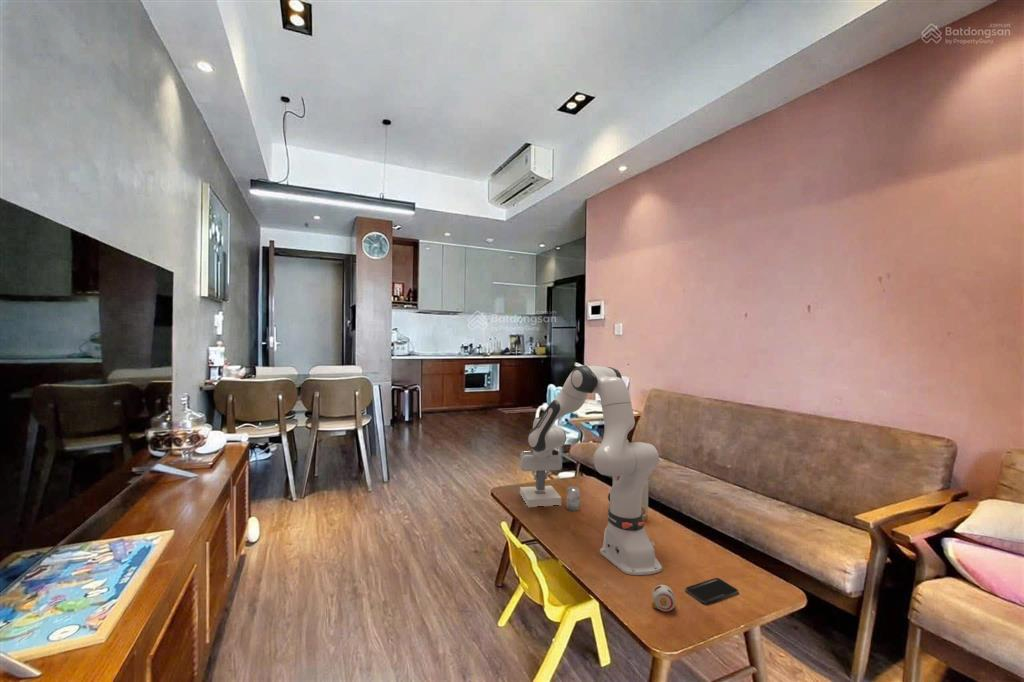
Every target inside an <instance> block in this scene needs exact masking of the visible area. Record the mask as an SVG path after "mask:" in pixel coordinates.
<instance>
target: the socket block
mask: <svg viewBox="0 0 1024 682" xmlns="http://www.w3.org/2000/svg"><path fill="white" fill-rule="evenodd" d="M520 494H521V495H520ZM519 495H520V497H521V496H522V497H521V498H523V499H522V500H523V502H524V501H525V502H524V503H526V504H525V506H526V507H527V506H528V507H527V508H538V507H537V506H544V507H554V506H553V505H559V506H562V502H563V501H562V499H563V497H562V496H561V495H560V494H559V493H558V491H556V489H555V488H554V487H553V486H552V485H545V490H537V489H536V485H535V486H519Z"/></svg>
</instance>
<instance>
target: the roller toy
mask: <svg viewBox="0 0 1024 682" xmlns="http://www.w3.org/2000/svg"><path fill="white" fill-rule="evenodd" d="M652 597H653V600H652V602H651V605H652V607H653V608H655V609H658V610H660V611H662V612H671V611H672V610H673V609H674V608H675V606H676V598H675V594H674V591H673V589H672V588H671V587H670V586H667V585H665V584H658V585H656V586H655V587H654V588H653V590H652Z"/></svg>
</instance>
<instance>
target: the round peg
mask: <svg viewBox="0 0 1024 682" xmlns="http://www.w3.org/2000/svg"><path fill="white" fill-rule="evenodd" d="M566 509H567V510H568V509H569V510H568V511H570V510H572V511H571V512H577V511H579V510H580V488H579V487H578V486H573V485H572V486H567V487H566ZM576 510H577V511H576Z"/></svg>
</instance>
